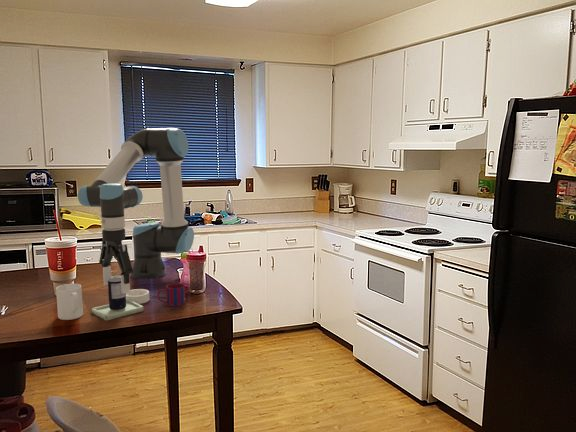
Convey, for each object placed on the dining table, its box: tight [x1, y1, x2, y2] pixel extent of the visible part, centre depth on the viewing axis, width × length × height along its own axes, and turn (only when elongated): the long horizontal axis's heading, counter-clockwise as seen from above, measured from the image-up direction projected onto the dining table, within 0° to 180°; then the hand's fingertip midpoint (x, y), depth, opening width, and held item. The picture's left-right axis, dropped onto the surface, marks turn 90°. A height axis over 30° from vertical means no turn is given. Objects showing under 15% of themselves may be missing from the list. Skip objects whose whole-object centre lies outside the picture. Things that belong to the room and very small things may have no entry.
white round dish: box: [126, 288, 150, 305], centre depth 192 cm, size 9×9×3 cm
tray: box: [91, 300, 145, 321], centre depth 179 cm, size 14×11×2 cm
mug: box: [55, 283, 84, 321], centre depth 173 cm, size 12×8×10 cm, turn 39°
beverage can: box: [107, 274, 126, 311], centre depth 179 cm, size 6×6×12 cm
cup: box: [157, 282, 186, 307], centre depth 187 cm, size 7×10×7 cm
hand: (116, 288), depth 178 cm, fingers open, 13 cm apart
